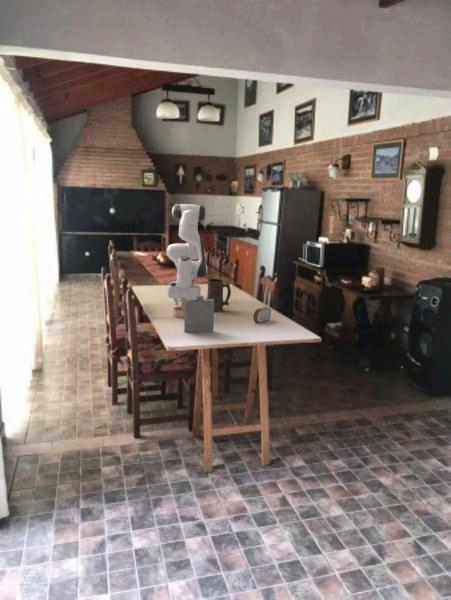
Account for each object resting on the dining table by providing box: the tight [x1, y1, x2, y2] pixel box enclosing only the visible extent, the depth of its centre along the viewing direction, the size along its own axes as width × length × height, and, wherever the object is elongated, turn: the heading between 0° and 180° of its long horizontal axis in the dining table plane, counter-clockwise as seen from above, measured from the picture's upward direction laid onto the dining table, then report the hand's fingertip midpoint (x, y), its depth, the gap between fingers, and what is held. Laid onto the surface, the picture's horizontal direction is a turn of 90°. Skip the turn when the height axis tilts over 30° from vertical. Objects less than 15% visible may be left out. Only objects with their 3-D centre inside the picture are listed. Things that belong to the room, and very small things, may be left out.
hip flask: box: [183, 294, 215, 334], centre depth 266 cm, size 16×4×20 cm, turn 103°
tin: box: [252, 306, 272, 324], centre depth 294 cm, size 15×3×8 cm, turn 141°
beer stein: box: [206, 278, 232, 313], centre depth 319 cm, size 15×11×20 cm
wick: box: [180, 298, 187, 311], centre depth 303 cm, size 4×2×10 cm, turn 164°
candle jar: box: [171, 305, 185, 319], centre depth 304 cm, size 13×13×4 cm
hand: (184, 306), depth 303 cm, fingers open, 8 cm apart
